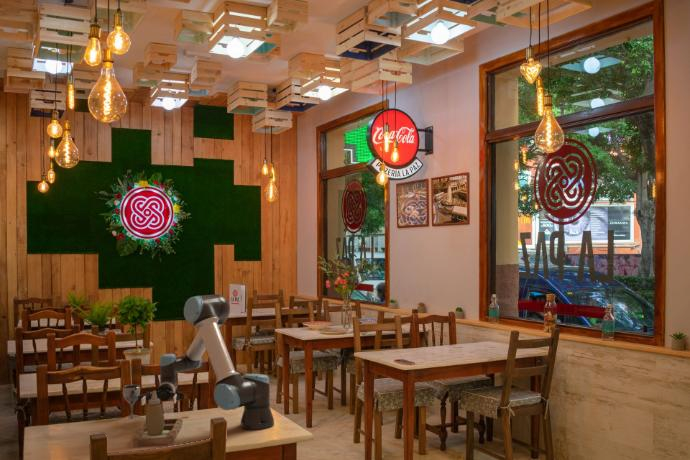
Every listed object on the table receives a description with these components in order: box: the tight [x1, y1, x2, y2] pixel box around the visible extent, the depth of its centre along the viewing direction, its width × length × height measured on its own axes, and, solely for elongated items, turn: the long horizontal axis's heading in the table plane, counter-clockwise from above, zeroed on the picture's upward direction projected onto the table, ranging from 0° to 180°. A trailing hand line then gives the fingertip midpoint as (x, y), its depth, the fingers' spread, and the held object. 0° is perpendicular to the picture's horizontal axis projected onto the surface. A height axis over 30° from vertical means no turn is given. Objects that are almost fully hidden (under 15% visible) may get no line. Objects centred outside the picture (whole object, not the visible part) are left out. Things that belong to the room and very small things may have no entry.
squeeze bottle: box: [144, 390, 165, 435], centre depth 275 cm, size 8×8×18 cm
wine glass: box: [122, 384, 141, 420], centre depth 319 cm, size 8×8×15 cm
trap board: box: [132, 417, 183, 448], centre depth 285 cm, size 32×16×3 cm, turn 7°
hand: (158, 401), depth 284 cm, fingers open, 13 cm apart
